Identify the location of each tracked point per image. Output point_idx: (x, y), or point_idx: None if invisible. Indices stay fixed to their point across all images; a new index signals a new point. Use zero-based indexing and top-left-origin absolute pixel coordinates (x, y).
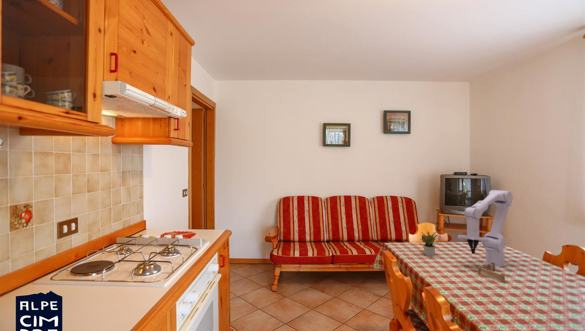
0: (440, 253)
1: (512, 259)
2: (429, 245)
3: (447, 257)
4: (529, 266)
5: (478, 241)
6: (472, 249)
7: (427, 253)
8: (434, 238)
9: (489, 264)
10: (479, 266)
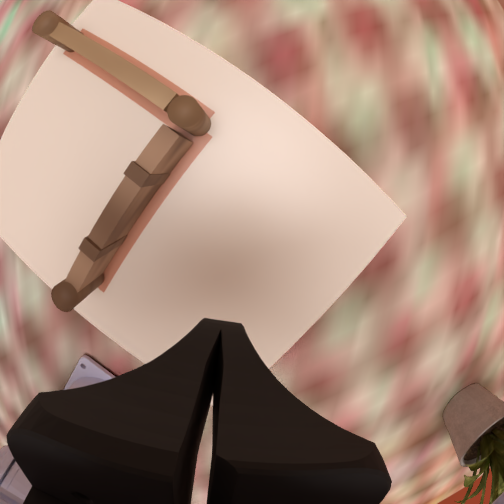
0: (391, 462)
1: None
2: (500, 434)
3: (375, 428)
4: (3, 411)
5: (35, 495)
6: (228, 350)
7: (487, 391)
8: (496, 486)
9: (85, 251)
10: (181, 101)
